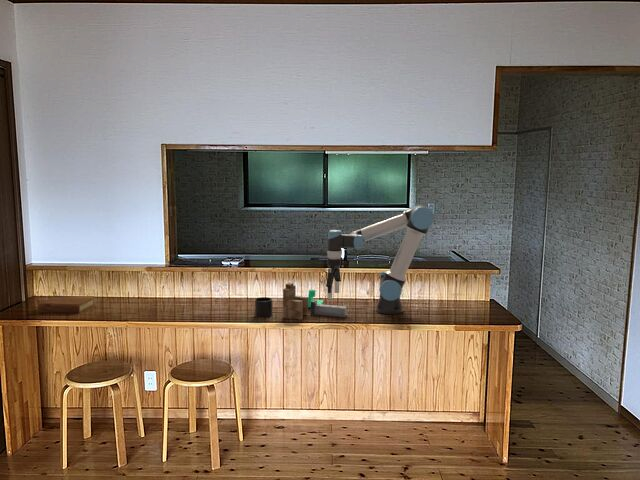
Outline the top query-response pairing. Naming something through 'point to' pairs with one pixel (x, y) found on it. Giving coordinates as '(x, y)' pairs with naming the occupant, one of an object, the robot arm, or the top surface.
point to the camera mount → (310, 298)
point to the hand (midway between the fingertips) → (333, 295)
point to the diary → (66, 304)
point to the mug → (263, 307)
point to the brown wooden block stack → (294, 303)
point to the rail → (328, 309)
